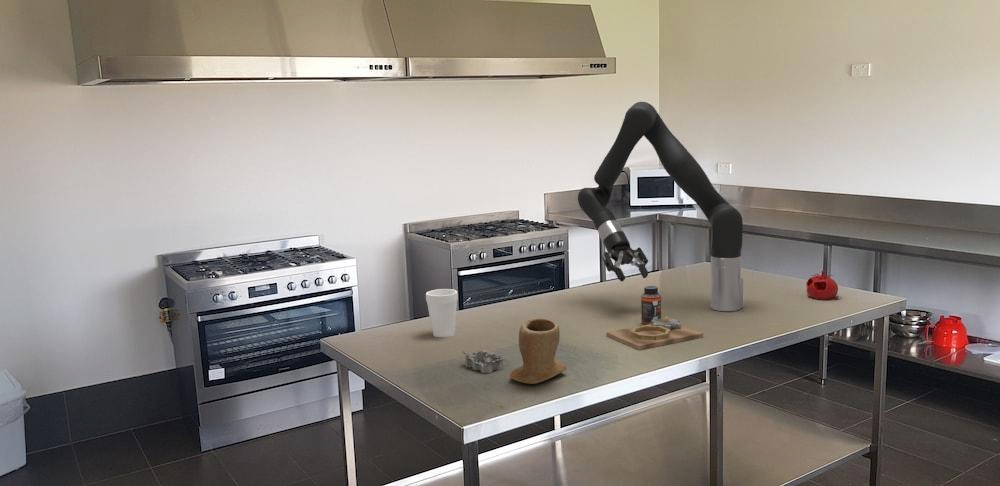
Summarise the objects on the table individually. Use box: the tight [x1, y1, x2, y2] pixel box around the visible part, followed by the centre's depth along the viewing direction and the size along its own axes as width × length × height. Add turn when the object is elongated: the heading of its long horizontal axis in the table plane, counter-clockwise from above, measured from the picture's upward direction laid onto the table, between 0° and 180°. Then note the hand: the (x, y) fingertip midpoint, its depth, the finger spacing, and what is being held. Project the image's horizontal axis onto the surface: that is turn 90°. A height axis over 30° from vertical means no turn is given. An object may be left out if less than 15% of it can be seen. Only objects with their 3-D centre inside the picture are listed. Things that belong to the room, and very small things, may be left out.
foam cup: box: [425, 288, 459, 338], centre depth 234 cm, size 10×9×13 cm
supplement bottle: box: [640, 285, 662, 325], centre depth 236 cm, size 6×6×11 cm
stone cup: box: [509, 317, 568, 385], centre depth 191 cm, size 15×12×15 cm
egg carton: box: [461, 349, 506, 374], centre depth 203 cm, size 11×8×4 cm
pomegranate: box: [805, 270, 839, 300], centre depth 259 cm, size 10×10×9 cm
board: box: [605, 316, 704, 351], centre depth 223 cm, size 22×16×4 cm
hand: (634, 278), depth 242 cm, fingers open, 8 cm apart
